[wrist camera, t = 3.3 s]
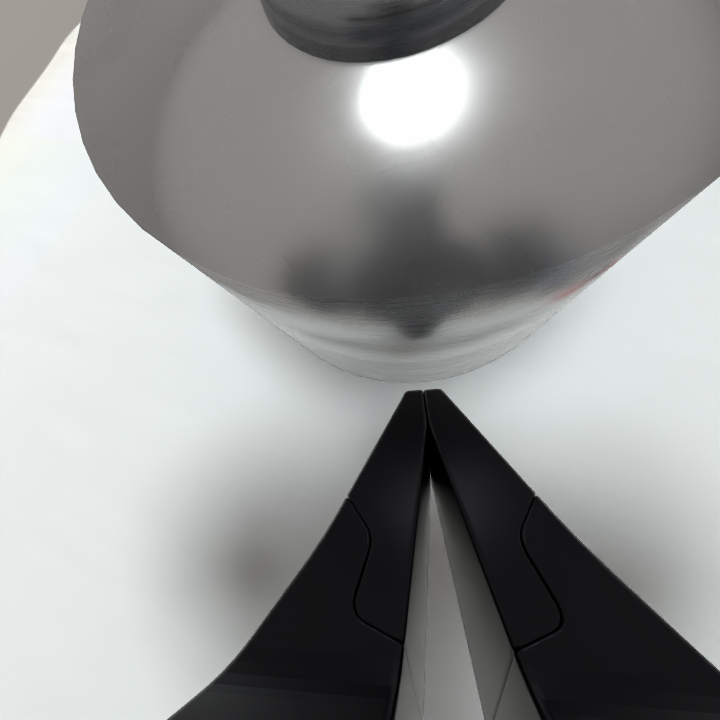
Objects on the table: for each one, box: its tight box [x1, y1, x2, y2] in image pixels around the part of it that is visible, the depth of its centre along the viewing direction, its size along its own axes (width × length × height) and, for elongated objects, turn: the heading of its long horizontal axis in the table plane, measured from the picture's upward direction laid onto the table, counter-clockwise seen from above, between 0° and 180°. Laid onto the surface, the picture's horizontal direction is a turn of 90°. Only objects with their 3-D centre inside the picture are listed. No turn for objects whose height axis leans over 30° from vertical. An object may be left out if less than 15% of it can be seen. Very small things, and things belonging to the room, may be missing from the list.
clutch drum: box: [73, 0, 720, 382], centre depth 11 cm, size 16×16×11 cm
